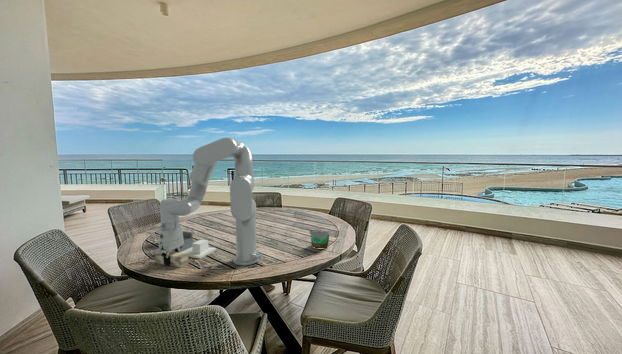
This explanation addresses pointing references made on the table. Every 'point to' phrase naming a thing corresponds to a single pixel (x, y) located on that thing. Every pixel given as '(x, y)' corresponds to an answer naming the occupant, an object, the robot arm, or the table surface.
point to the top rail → (174, 259)
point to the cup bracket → (195, 246)
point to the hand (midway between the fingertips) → (172, 261)
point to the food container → (319, 238)
